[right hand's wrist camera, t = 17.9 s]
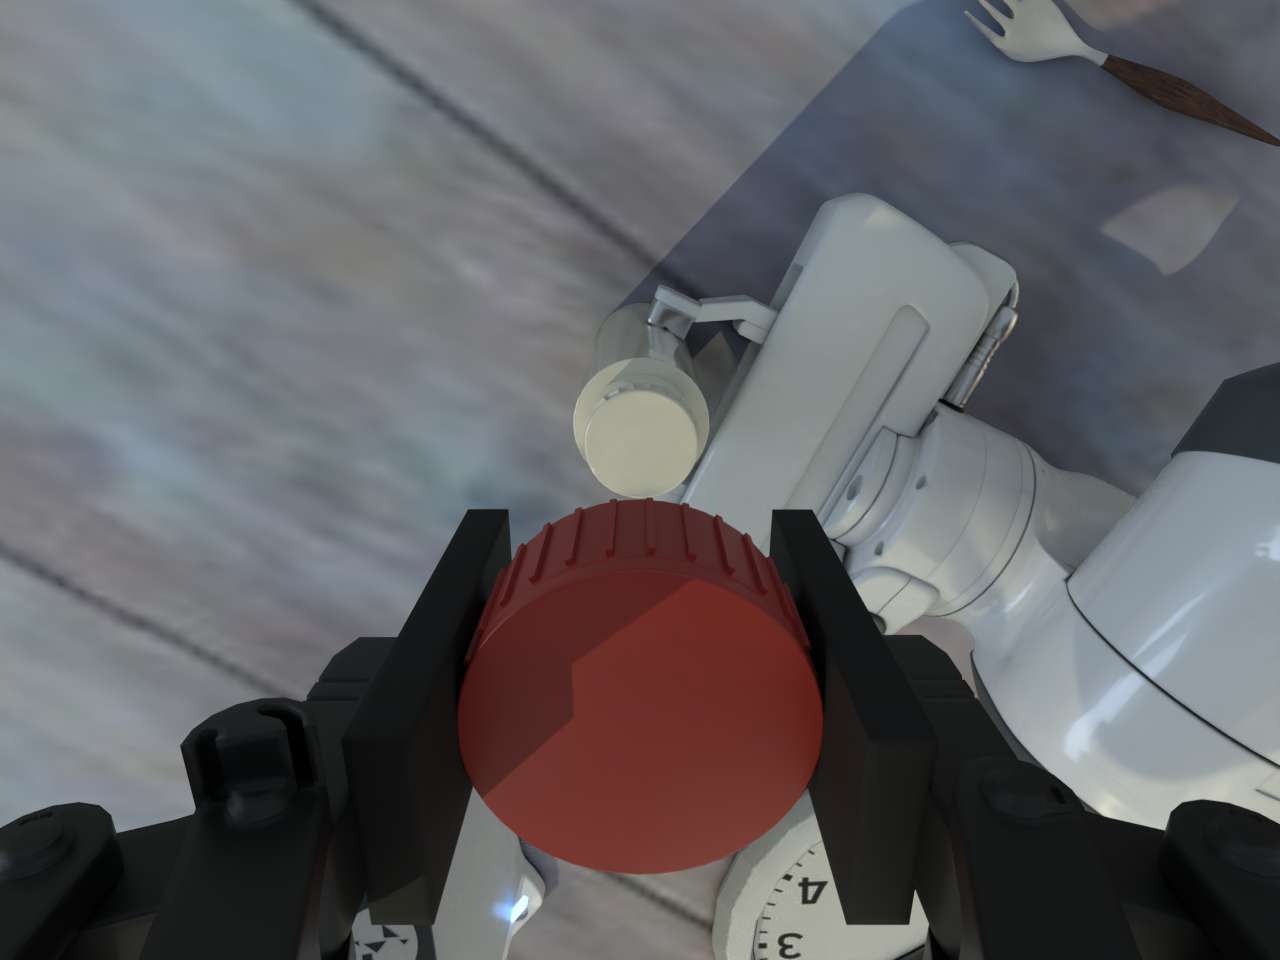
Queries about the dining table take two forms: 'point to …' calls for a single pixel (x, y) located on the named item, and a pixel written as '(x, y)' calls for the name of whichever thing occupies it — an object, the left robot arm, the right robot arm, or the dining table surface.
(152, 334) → the dining table surface
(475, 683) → the lid
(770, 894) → the wall clock
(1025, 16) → the fork
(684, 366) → the jar
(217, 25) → the dining table surface
